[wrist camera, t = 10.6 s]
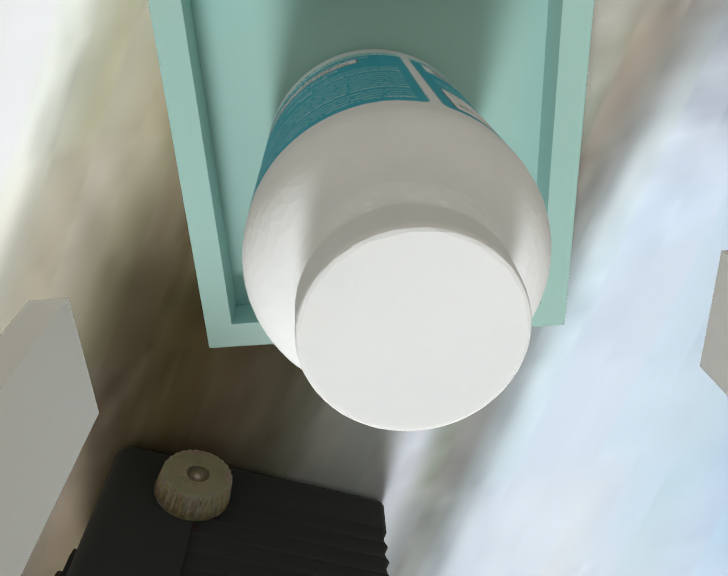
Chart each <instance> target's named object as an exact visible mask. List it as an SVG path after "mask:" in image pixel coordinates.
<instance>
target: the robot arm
mask: <svg viewBox="0 0 728 576" xmlns="http://www.w3.org/2000/svg"><path fill="white" fill-rule="evenodd" d="M700 367H701V368H702V369H703V370H704V371H705V372H706V373H707V374H708V375H709V377H710V378H711V379H712V380H713V381H714V382H715V383H716V384H717V385H718V386H719V387H720V388H721V389H722V390H723V391H724V393H725V394H726V395H727V396H728V250H726V251H721V257H720V262H719V267H718V272H717V278H716V283H715V288H714V294H713V299H712V304H711V310H710V315H709V320H708V326H707V331H706V336H705V342H704V347H703V352H702V357H701V363H700ZM98 414H99V411H98V407H97V403H96V400H95V396H94V392H93V388H92V384H91V381H90V377H89V373H88V369H87V366H86V362H85V358H84V354H83V350H82V347H81V343H80V339H79V335H78V332H77V328H76V324H75V320H74V317H73V313H72V309H71V305H70V301H69V298H60V299H47V300H33V301H29V302H28V303H27V304H26V305H25V306H24V307H23V309H22V310H21V311H20V312H19V313H18V315H17V316H16V317H15V318H14V319H13V321H12V322H11V323H10V324H9V325H8V326H7V328H6V329H5V330H4V331H3V332H2V334H1V335H0V576H21V574H22V572H23V570H24V568H25V566H26V564H27V562H28V560H29V558H30V555H31V553H32V551H33V549H34V547H35V545H36V543H37V541H38V539H39V537H40V535H41V533H42V531H43V528H44V526H45V524H46V522H47V520H48V518H49V516H50V514H51V512H52V510H53V508H54V506H55V503H56V501H57V499H58V497H59V495H60V493H61V491H62V489H63V487H64V485H65V483H66V481H67V479H68V476H69V474H70V472H71V470H72V468H73V466H74V464H75V462H76V460H77V458H78V456H79V454H80V451H81V449H82V447H83V445H84V443H85V441H86V439H87V437H88V435H89V433H90V431H91V429H92V427H93V424H94V422H95V420H96V418H97V416H98Z"/></svg>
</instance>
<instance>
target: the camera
mask: <svg viewBox="0 0 728 576" xmlns="http://www.w3.org/2000/svg"><path fill="white" fill-rule="evenodd" d="M385 535H386V525H385V515H384V506H383V505H382V503H381V502H379V501H374V500H370V499H365V498H361V497H357V496H352V495H348V494H344V493H339V492H335V491H331V490H326V489H322V488H318V487H313V486H309V485H305V484H300V483H296V482H292V481H287V480H283V479H279V478H274V477H270V476H266V475H261V474H257V473H253V472H248V471H244V470H239V469H235V468H231V467H228V465H227V464H226V463H224V461H223V460H222V459H220V458H219V457H218V456H215V455H213V454H212V453H208V452H205V451H199V450H187V451H181V452H179V453H175V454H174V455H173V456H172V455H167V454H163V453H158V452H154V451H150V450H145V449H141V448H136V447H126V448H124V449H122V450H121V451H120V452H119V453H118V454H117V456H116V458H115V460H114V463H113V465H112V467H111V470H110V472H109V475H108V477H107V479H106V482H105V484H104V486H103V489H102V491H101V494H100V496H99V498H98V501H97V503H96V506H95V508H94V510H93V513H92V515H91V517H90V520H89V522H88V525H87V527H86V529H85V532H84V534H83V537H82V539H81V541H80V544H79V546H78V548H77V549H74V550H73V551H72V553H71V554H70V556H69V558H68V561H67V563H66V565H65V567H64V570H63V572H62V571H58V572H57V573H56V574H55V576H389V575H388V573H387V567H388V565H389V561H388V560H387V558H386V556H385V553H386V551H387V548H388V547H387V545H386V544H385V542H384V537H385Z"/></svg>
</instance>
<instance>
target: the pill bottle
mask: <svg viewBox="0 0 728 576" xmlns="http://www.w3.org/2000/svg"><path fill="white" fill-rule="evenodd" d="M551 245H552V243H551V231H550V225H549V219H548V215H547V211H546V207H545V204H544V201H543V198H542V196H541V193H540V191H539V189H538V187H537V185H536V183H535V181H534V179H533V177H532V176H531V174H530V172H529V171H528V169H527V168H526V166H525V165H524V164H523V162H522V161H521V159H520V158H519V157H518V156H517V155H516V154H515V153H514V151H513V150H512V149H511V148H510V147H509V146H508V145H507V144H506V143H505V142H504V140H503V139H502V138H501V137H500V136H499V135H498V134H497V133H496V132H495V131H494V130H493V128H492V127H491V126H490V125H489V124H488V123H487V122H486V121H485V120H484V118H483V117H481V116H480V114H479V113H478V112H477V111H476V110H475V109H474V108H473V107H472V106H471V105H470V103H469V102H468V101H467V100H466V99H465V98H464V97H463V96H462V95H461V93H460V92H459V91H458V90H457V89H456V88H455V87H454V86H453V85H452V84H451V83H450V82H449V81H448V80H447V79H446V78H445V77H444V76H443V75H442V74H441V73H440V72H438V71H437V70H436V69H434V68H433V67H431V66H430V65H428V64H427V63H425V62H423V61H421V60H419V59H417V58H415V57H413V56H410V55H407V54H404V53H401V52H397V51H391V50H384V49H363V50H356V51H351V52H347V53H343V54H340V55H337V56H335V57H332V58H330V59H328V60H326V61H324V62H322V63H320V64H319V65H317V66H315V67H314V68H313V69H311V70H310V71H309V72H307V73H306V74H305V75H304V76H303V77H301V78H300V79H299V80H298V82H297V83H296V84H295V85H294V86H293V87H292V89H291V90H290V91H289V92H288V93H287V95H286V96H285V98H284V100H283V101H282V103H281V105H280V107H279V109H278V111H277V113H276V115H275V118H274V121H273V124H272V127H271V130H270V133H269V138H268V141H267V145H266V149H265V153H264V156H263V160H262V164H261V168H260V171H259V175H258V179H257V182H256V186H255V190H254V193H253V197H252V200H251V204H250V207H249V212H248V216H247V221H246V225H245V230H244V237H243V246H242V264H243V275H244V281H245V287H246V290H247V294H248V298H249V301H250V303H251V306H252V308H253V310H254V312H255V315H256V317H257V319H258V321H259V323H260V324H261V326H262V328H263V329H264V331H265V333H266V334H267V336H268V337H269V338H270V339H271V341H272V342H273V343H274V344H275V346H276V347H277V348H278V349H279V350H280V351H281V352H282V353H283V354H284V355H285V356H286V357H287V358H288V359H289V360H290V361H291V362H292V363H294V364H295V365H296V366H298V367H299V368H300V369H302V370H303V372H304V374H305V376H306V377H307V379H308V381H309V382H310V384H311V386H312V387H313V388H314V390H315V391H316V392H317V393H318V394H319V395H320V396H321V397H322V398H323V400H324V401H325V402H327V403H328V404H329V405H330V406H331V407H333V408H334V409H336V410H337V411H338V412H340V413H341V414H342V415H344V416H346V417H349V418H351V419H353V420H355V421H357V422H360V423H362V424H365V425H368V426H371V427H375V428H379V429H387V430H395V431H419V430H427V429H433V428H437V427H442V426H445V425H448V424H451V423H454V422H456V421H459V420H461V419H464V418H466V417H468V416H470V415H471V414H473V413H475V412H477V411H478V410H480V409H482V408H483V407H484V406H486V405H487V404H488V403H489V402H491V401H492V400H493V399H494V398H495V397H497V396H498V395H499V394H500V393H501V392H502V391H503V390H504V389H505V387H506V386H507V385H508V384H509V383H510V381H511V380H512V379H513V377H514V376H515V374H516V373H517V371H518V369H519V367H520V365H521V363H522V361H523V359H524V357H525V355H526V352H527V349H528V345H529V341H530V336H531V328H532V318H533V316H534V314H535V312H536V310H537V308H538V306H539V304H540V301H541V299H542V296H543V293H544V290H545V287H546V284H547V280H548V275H549V270H550V263H551Z"/></svg>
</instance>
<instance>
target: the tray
mask: <svg viewBox="0 0 728 576" xmlns="http://www.w3.org/2000/svg"><path fill="white" fill-rule="evenodd" d="M148 2H149V8H150V14H151V19H152V25H153V31H154V36H155V42H156V48H157V53H158V59H159V65H160V71H161V76H162V82H163V88H164V93H165V99H166V105H167V110H168V116H169V122H170V127H171V133H172V139H173V144H174V150H175V156H176V161H177V167H178V173H179V178H180V184H181V190H182V195H183V201H184V207H185V212H186V218H187V224H188V229H189V235H190V241H191V246H192V252H193V258H194V263H195V269H196V275H197V280H198V286H199V292H200V297H201V303H202V309H203V314H204V320H205V326H206V331H207V337H208V343H209V348H219V347H234V346H249V345H264V344H274V343H273V342H272V341H271V339H270V338H269V337H268V336H267V334H266V333H265V331H264V329H263V328H262V326H261V324H260V323H259V321H258V319H257V317H256V315H255V312H254V310H253V308H252V306H251V303H250V301H249V298H248V294H247V290H246V287H245V281H244V275H243V264H242V246H243V237H244V230H245V225H246V221H247V216H248V212H249V207H250V204H251V200H252V197H253V193H254V190H255V186H256V182H257V179H258V175H259V171H260V168H261V164H262V160H263V156H264V153H265V149H266V145H267V141H268V138H269V133H270V130H271V127H272V124H273V121H274V118H275V115H276V113H277V111H278V109H279V107H280V105H281V103H282V101H283V100H284V98H285V96H286V95H287V93H288V92H289V91H290V90H291V89H292V87H293V86H294V85H295V84H296V83H297V82H298V80H299V79H300V78H301V77H303V76H304V75H305V74H306V73H307V72H309V71H310V70H311V69H313V68H314V67H315V66H317V65H319V64H320V63H322V62H324V61H326V60H328V59H330V58H332V57H335V56H337V55H340V54H343V53H347V52H351V51H356V50H363V49H384V50H391V51H397V52H401V53H404V54H407V55H410V56H413V57H415V58H417V59H419V60H421V61H423V62H425V63H427V64H428V65H430V66H431V67H433V68H434V69H436V70H437V71H438V72H440V73H441V74H442V75H443V76H444V77H445V78H446V79H447V80H448V81H449V82H450V83H451V84H452V85H453V86H454V87H455V88H456V89H457V90H458V91H459V92H460V93H461V95H462V96H463V97H464V98H465V99H466V100H467V101H468V102H469V103H470V105H471V106H472V107H473V108H474V109H475V110H476V111H477V112H478V113H479V114H480V116H481V117H483V118H484V120H485V121H486V122H487V123H488V124H489V125H490V126H491V127H492V128H493V130H494V131H495V132H496V133H497V134H498V135H499V136H500V137H501V138H502V139H503V140H504V142H505V143H506V144H507V145H508V146H509V147H510V148H511V149H512V150H513V151H514V153H515V154H516V155H517V156H518V157H519V158H520V159H521V161H522V162H523V164H524V165H525V166H526V168H527V169H528V171H529V172H530V174H531V176H532V177H533V179H534V181H535V183H536V185H537V187H538V189H539V191H540V193H541V196H542V198H543V201H544V204H545V207H546V211H547V215H548V219H549V225H550V231H551V243H552V245H551V263H550V270H549V275H548V280H547V284H546V287H545V290H544V293H543V296H542V299H541V301H540V304H539V306H538V308H537V310H536V312H535V314H534V316H533V318H532V327H534V326H549V325H564V322H565V312H566V301H567V290H568V279H569V268H570V257H571V246H572V235H573V224H574V213H575V203H576V192H577V181H578V170H579V159H580V148H581V137H582V126H583V115H584V105H585V94H586V83H587V72H588V61H589V50H590V39H591V28H592V17H593V6H594V0H148Z"/></svg>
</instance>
